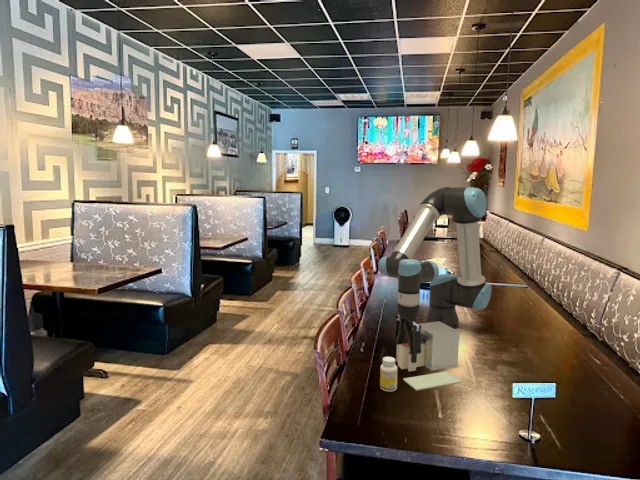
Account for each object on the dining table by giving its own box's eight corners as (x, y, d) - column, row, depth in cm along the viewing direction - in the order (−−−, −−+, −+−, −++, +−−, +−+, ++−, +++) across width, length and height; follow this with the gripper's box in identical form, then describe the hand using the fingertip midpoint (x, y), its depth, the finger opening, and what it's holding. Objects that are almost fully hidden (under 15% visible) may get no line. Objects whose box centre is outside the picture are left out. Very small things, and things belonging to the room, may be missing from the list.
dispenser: (437, 354, 170) (439, 321, 168) (457, 366, 159) (459, 331, 157) (411, 358, 166) (412, 324, 164) (429, 371, 155) (431, 335, 153)
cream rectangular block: (428, 361, 163) (429, 340, 162) (433, 364, 160) (434, 342, 159) (397, 366, 159) (398, 344, 158) (402, 369, 156) (402, 347, 155)
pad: (446, 372, 153) (446, 371, 153) (460, 382, 146) (460, 381, 146) (403, 379, 148) (403, 378, 148) (416, 390, 140) (416, 389, 140)
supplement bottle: (385, 382, 146) (386, 354, 144) (400, 387, 142) (401, 358, 141) (376, 388, 141) (377, 359, 140) (391, 393, 138) (392, 363, 137)
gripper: (384, 297, 163) (382, 356, 166) (414, 312, 144) (411, 379, 147) (402, 295, 166) (400, 354, 169) (434, 310, 147) (431, 376, 150)
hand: (405, 365), depth 158 cm, fingers open, 7 cm apart
